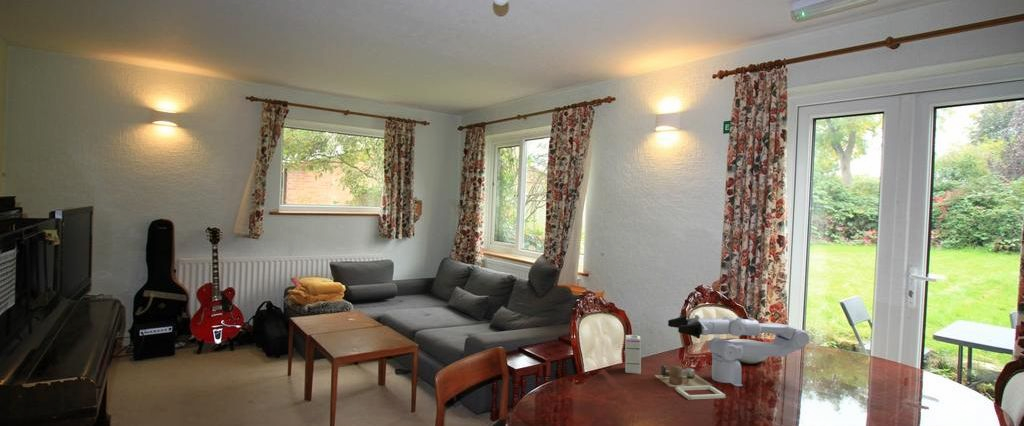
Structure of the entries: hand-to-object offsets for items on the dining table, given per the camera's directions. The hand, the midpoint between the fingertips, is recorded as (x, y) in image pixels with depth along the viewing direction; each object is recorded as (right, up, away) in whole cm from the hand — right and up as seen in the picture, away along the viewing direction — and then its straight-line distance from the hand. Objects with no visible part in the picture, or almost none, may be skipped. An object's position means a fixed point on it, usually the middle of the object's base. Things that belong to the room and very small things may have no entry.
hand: (673, 326), depth 178 cm
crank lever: (+3, -19, +4) cm, 20 cm away
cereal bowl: (+42, -22, +32) cm, 57 cm away
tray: (+5, -21, -12) cm, 25 cm away
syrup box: (-12, -21, +11) cm, 27 cm away
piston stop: (0, -20, -2) cm, 20 cm away
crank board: (+4, -21, +2) cm, 22 cm away
